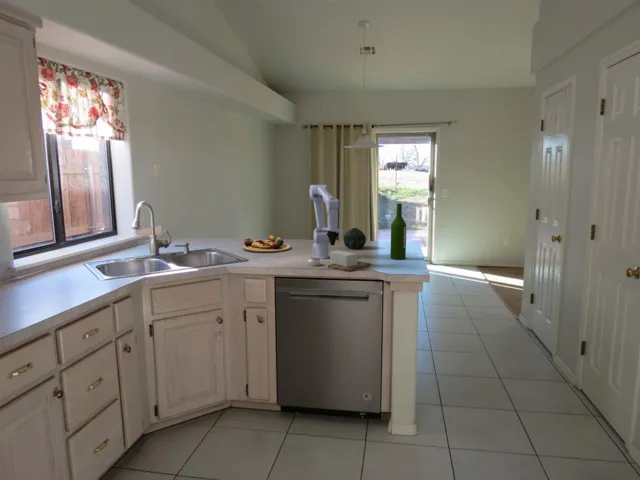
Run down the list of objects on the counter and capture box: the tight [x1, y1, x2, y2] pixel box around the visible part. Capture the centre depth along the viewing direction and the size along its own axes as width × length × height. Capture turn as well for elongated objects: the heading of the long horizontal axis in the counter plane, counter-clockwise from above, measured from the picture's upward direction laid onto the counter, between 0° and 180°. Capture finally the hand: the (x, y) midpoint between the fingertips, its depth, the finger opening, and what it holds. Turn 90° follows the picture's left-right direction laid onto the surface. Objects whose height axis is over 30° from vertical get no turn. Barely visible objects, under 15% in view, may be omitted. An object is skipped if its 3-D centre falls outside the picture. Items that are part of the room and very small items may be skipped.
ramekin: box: [307, 257, 321, 267], centre depth 251 cm, size 6×6×4 cm
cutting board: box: [327, 260, 372, 273], centre depth 247 cm, size 14×20×2 cm
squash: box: [343, 227, 367, 250], centre depth 302 cm, size 14×15×15 cm
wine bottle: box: [389, 203, 407, 261], centre depth 267 cm, size 9×9×32 cm
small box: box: [329, 249, 358, 267], centre depth 247 cm, size 8×6×13 cm
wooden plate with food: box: [242, 234, 292, 254], centre depth 301 cm, size 32×32×8 cm
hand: (332, 245), depth 255 cm, fingers closed
